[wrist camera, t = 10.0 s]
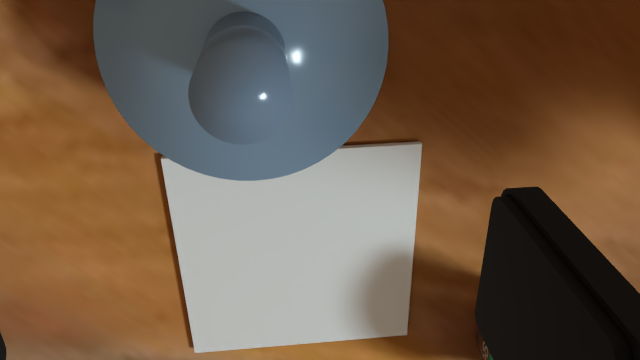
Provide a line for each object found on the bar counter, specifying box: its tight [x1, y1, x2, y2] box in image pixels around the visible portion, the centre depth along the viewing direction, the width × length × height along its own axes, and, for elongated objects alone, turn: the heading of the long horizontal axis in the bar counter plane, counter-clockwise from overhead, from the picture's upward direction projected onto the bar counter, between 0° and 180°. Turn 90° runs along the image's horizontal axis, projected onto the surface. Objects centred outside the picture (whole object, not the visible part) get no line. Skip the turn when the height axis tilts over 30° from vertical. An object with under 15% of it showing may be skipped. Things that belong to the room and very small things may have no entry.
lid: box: [93, 0, 389, 181], centre depth 22 cm, size 13×13×7 cm
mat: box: [161, 141, 422, 353], centre depth 37 cm, size 16×16×1 cm
